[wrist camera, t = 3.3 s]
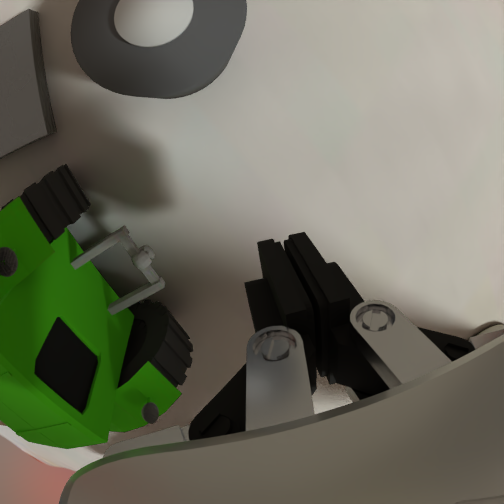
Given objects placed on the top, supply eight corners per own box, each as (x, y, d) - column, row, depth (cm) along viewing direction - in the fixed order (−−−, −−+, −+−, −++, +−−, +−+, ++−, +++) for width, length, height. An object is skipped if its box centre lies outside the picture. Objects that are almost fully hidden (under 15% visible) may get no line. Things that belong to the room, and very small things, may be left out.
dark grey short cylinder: (223, -19, 10) (232, -71, 6) (243, 84, 13) (262, 75, 8) (106, 10, 10) (62, -25, 5) (124, 112, 13) (82, 119, 8)
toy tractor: (-45, 273, 15) (-118, 363, 6) (107, 132, 13) (-30, 193, 4) (44, 377, 20) (10, 481, 11) (215, 301, 18) (228, 462, 9)
